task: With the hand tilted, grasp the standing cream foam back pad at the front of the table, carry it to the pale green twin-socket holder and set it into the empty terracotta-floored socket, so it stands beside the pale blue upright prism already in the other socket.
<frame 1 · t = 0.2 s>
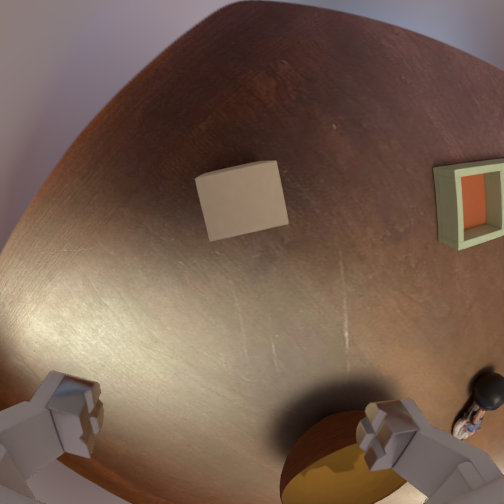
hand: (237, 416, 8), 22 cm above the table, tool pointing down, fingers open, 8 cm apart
cream pad: (237, 188, 28), on the table
figurine: (466, 407, 41), on the table
bowl: (334, 426, 37), on the table
pad holder: (482, 195, 30), on the table
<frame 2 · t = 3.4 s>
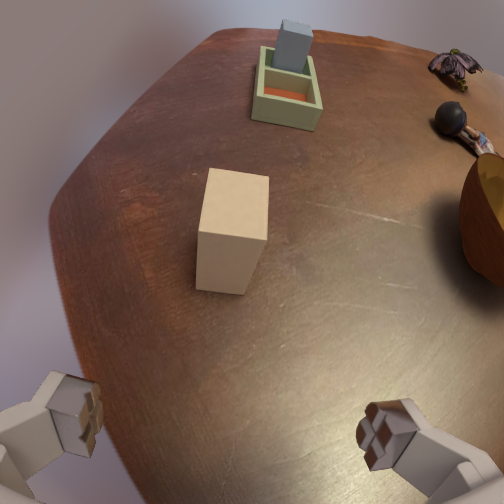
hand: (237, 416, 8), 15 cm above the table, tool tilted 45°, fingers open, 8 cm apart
pale blue upright prism: (282, 77, 43), point 1 cm above the table, touching pad holder
cream pad: (222, 265, 28), on the table
figurine: (466, 147, 48), on the table
bowl: (476, 254, 35), on the table
decorative flower: (448, 81, 64), on the table
pad holder: (282, 93, 42), on the table
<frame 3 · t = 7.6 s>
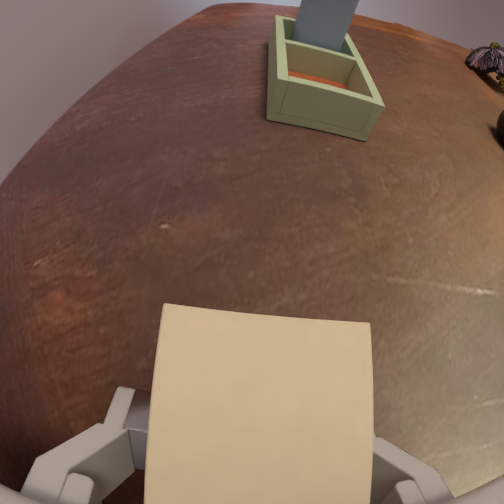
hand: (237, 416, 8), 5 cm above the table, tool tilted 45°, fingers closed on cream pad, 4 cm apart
pale blue upright prism: (308, 59, 28), point 1 cm above the table, touching pad holder
cream pad: (223, 429, 12), on the table, touching gripper
decorative flower: (487, 80, 49), on the table
pad holder: (310, 81, 27), on the table
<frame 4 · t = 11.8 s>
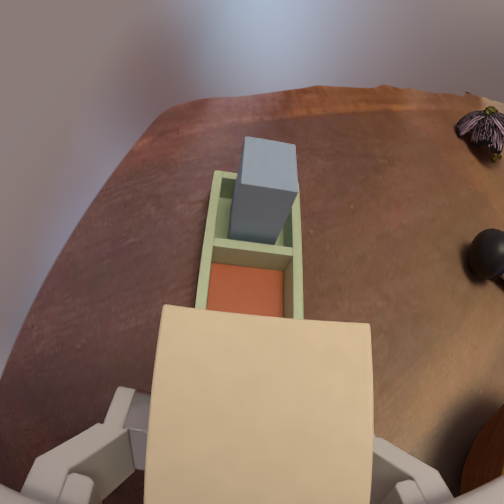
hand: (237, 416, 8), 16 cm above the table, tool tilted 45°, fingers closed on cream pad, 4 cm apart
pale blue upright prism: (249, 228, 30), point 1 cm above the table, touching pad holder
cream pad: (223, 430, 12), point 12 cm above the table, touching gripper
figurine: (500, 280, 35), on the table
bowl: (477, 468, 22), on the table
decorative flower: (478, 148, 52), on the table
pad holder: (246, 267, 29), on the table
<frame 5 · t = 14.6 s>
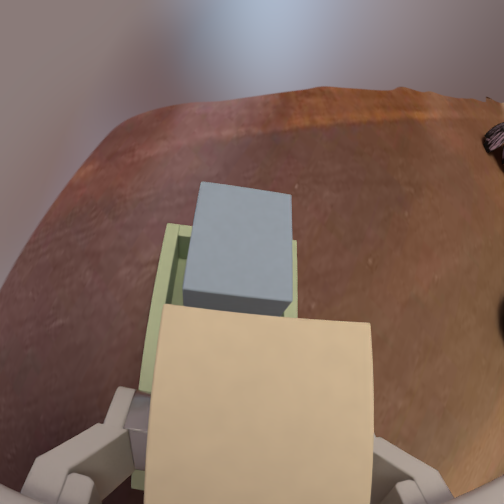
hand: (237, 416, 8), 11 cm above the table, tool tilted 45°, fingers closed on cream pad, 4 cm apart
pale blue upright prism: (222, 310, 20), point 1 cm above the table, touching pad holder
cream pad: (223, 430, 12), point 6 cm above the table, touching gripper
pad holder: (216, 368, 19), on the table
when the fingers open (6 cm above the table, at t = 16.4 s): cream pad stays where it is, resting on pad holder.
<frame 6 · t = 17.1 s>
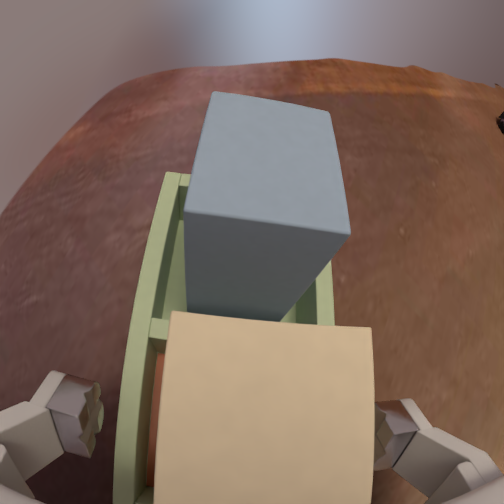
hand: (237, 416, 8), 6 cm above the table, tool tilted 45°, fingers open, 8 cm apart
pale blue upright prism: (233, 281, 16), point 1 cm above the table, touching pad holder
cream pad: (226, 430, 12), point 1 cm above the table, touching pad holder
pad holder: (226, 355, 15), on the table
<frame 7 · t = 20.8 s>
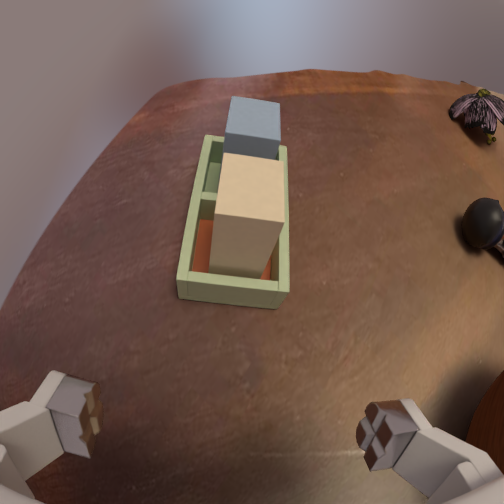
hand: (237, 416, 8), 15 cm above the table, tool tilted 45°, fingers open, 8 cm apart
pale blue upright prism: (239, 189, 31), point 1 cm above the table, touching pad holder
cream pad: (234, 255, 27), point 1 cm above the table, touching pad holder
figurine: (496, 253, 35), on the table
bowl: (481, 444, 22), on the table
decorative flower: (472, 130, 52), on the table
pad holder: (235, 225, 30), on the table
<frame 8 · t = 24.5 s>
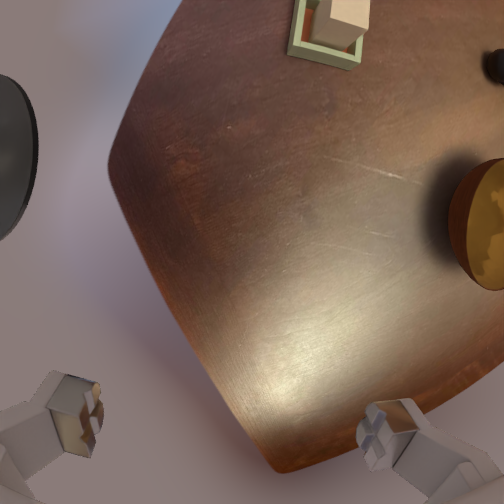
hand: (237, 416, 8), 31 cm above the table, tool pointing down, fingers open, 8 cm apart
cream pad: (325, 33, 32), point 1 cm above the table, touching pad holder
bowl: (464, 212, 41), on the table
pad holder: (324, 13, 32), on the table
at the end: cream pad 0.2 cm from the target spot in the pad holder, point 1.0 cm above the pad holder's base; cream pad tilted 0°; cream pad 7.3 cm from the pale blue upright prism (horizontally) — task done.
